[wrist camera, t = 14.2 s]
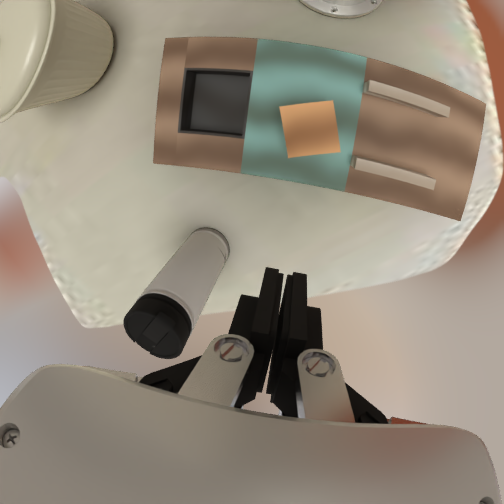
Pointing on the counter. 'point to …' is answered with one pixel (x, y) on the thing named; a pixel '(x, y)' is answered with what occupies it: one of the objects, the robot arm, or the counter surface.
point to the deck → (346, 111)
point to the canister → (49, 52)
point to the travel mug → (177, 295)
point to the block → (310, 128)
